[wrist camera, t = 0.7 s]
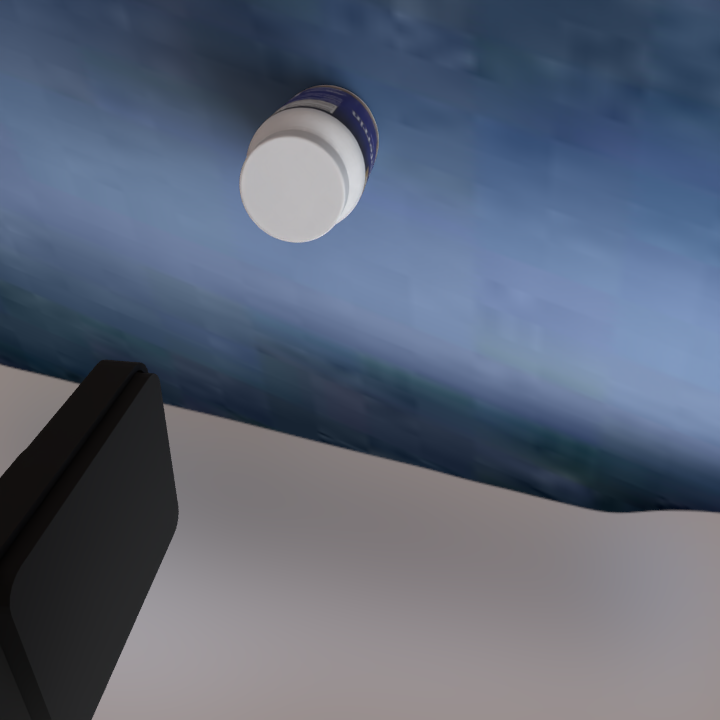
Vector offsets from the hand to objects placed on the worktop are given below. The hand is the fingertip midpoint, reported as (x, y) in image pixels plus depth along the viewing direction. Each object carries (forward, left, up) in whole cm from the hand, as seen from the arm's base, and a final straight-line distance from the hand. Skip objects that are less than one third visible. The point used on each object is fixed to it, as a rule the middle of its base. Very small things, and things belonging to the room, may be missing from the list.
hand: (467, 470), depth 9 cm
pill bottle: (+7, -2, -29) cm, 30 cm away
